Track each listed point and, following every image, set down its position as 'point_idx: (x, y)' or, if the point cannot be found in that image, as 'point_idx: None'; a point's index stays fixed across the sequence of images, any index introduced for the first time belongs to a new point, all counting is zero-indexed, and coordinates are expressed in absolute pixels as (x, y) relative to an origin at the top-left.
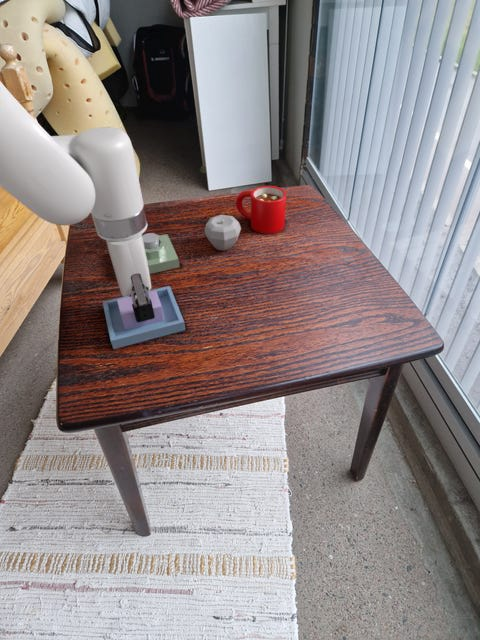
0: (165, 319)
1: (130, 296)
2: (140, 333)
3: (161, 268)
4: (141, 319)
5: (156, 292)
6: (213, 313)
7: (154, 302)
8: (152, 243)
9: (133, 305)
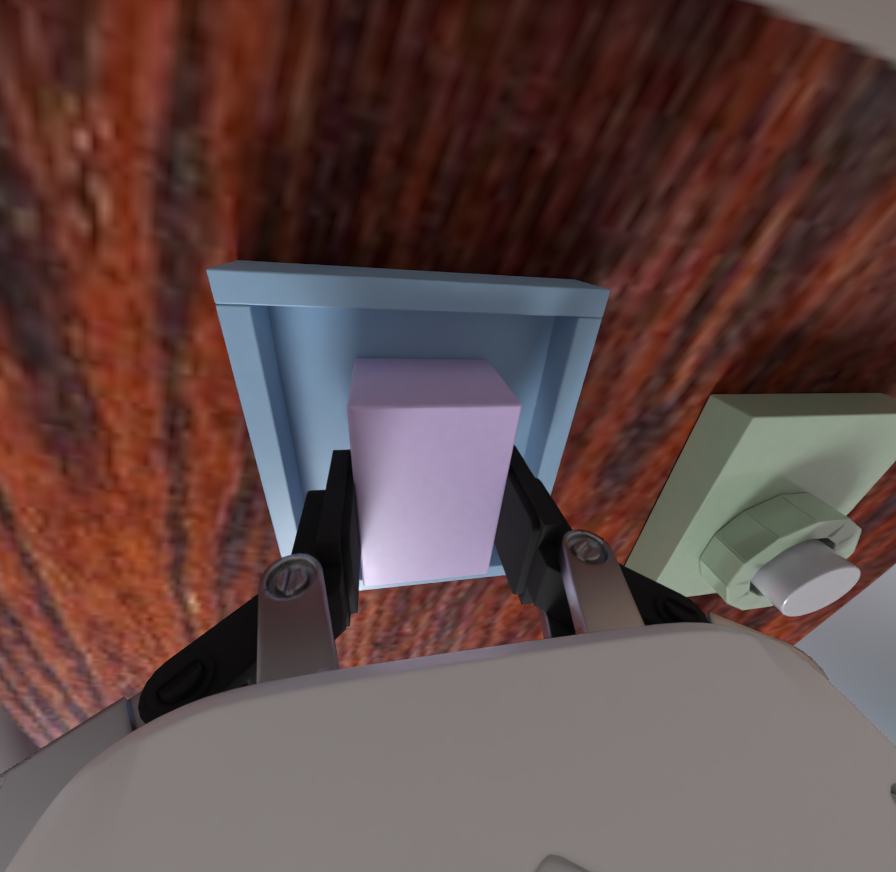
0: None
1: (508, 475)
2: (253, 445)
3: (652, 536)
4: (307, 492)
5: (474, 574)
6: (360, 623)
7: (403, 565)
8: (778, 593)
9: (317, 549)
